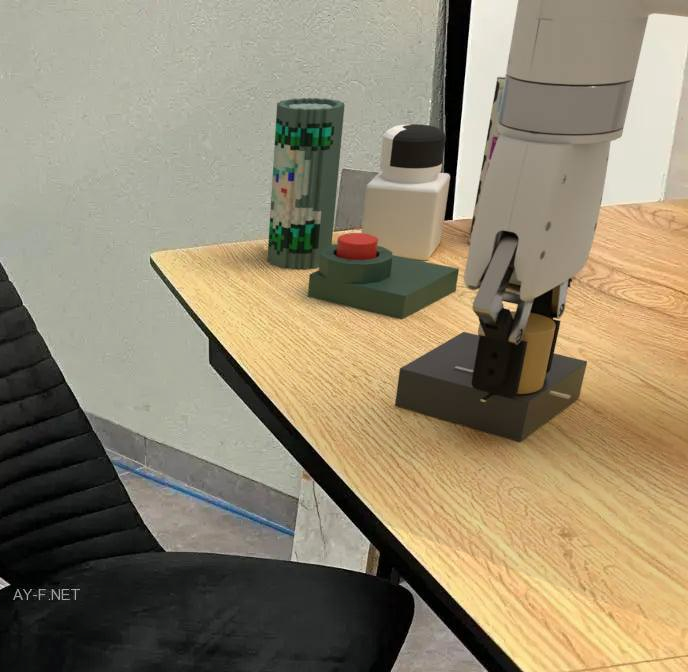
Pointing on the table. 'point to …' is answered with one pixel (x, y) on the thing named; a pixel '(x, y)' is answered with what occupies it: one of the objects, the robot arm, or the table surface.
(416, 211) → the medicine bottle
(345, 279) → the button block
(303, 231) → the can
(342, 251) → the button
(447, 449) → the table surface
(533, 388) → the lock knob
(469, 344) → the plate
